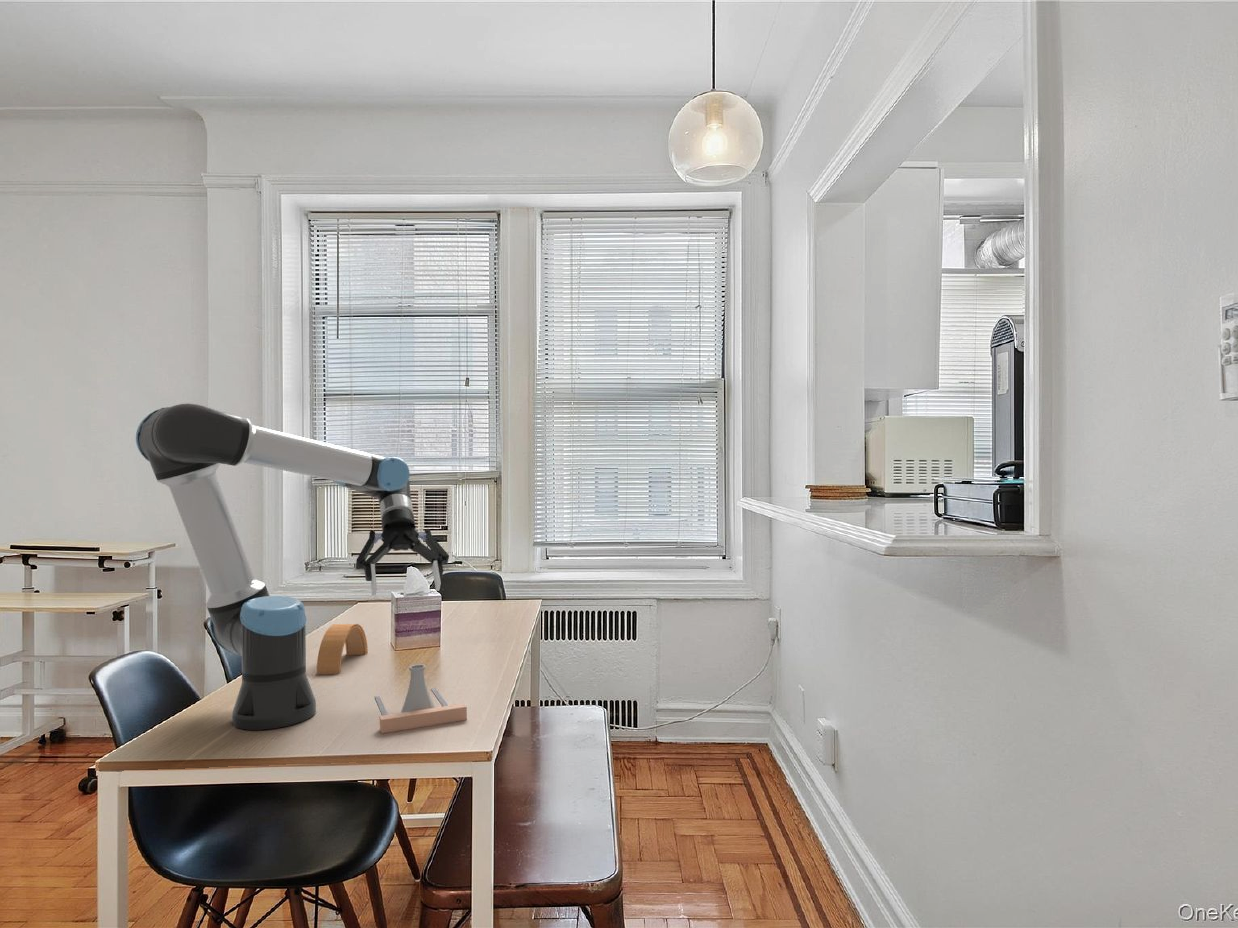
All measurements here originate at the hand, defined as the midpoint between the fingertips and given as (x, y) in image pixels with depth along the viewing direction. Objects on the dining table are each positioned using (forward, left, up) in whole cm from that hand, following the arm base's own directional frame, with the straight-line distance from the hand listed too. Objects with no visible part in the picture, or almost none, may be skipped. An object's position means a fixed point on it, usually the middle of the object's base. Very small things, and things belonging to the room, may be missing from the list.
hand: (407, 589), depth 160 cm
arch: (-11, +36, -23) cm, 44 cm away
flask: (-1, -16, -23) cm, 28 cm away
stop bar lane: (-1, -10, -23) cm, 25 cm away
